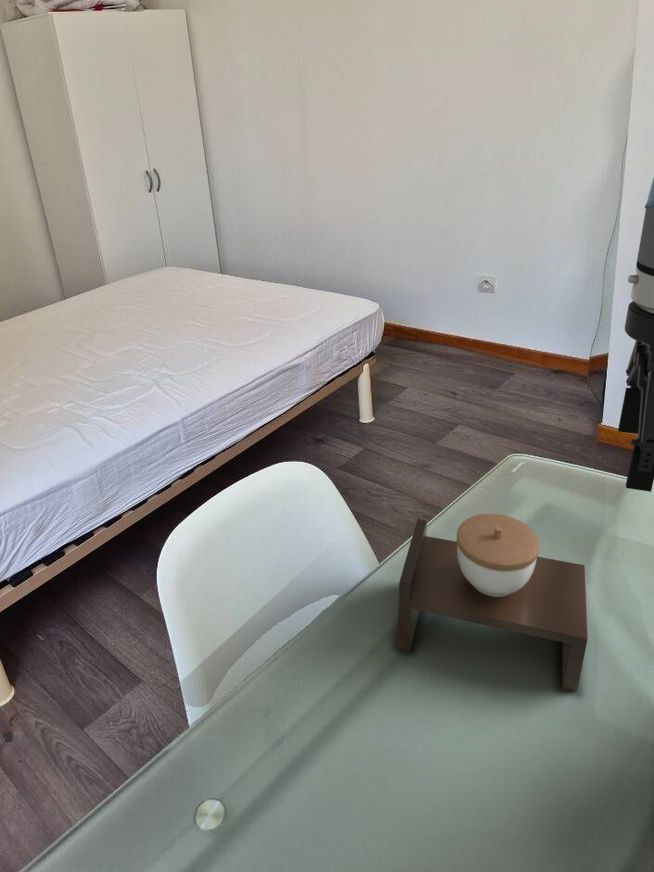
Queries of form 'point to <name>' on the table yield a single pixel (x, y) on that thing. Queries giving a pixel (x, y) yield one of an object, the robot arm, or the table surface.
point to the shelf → (495, 599)
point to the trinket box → (496, 553)
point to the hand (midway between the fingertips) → (633, 458)
